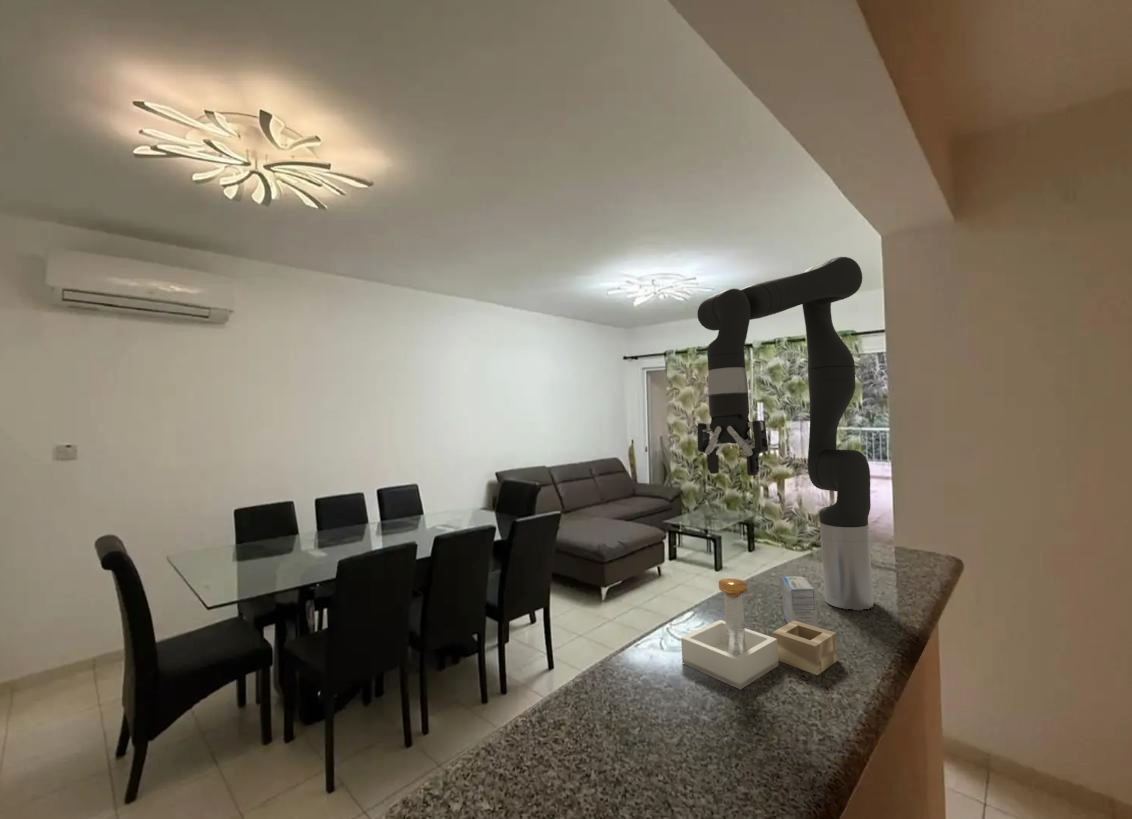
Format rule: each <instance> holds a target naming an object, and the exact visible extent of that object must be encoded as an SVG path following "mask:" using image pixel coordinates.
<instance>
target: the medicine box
mask: <svg viewBox="0 0 1132 819" xmlns="http://www.w3.org/2000/svg"><path fill="white" fill-rule="evenodd" d="M781 595H782V608H783V609H782V610H783V611H782V612H783V618H784V620H785V621H786V624H788V623H790V622H792V621H798V622H801V623H804V624H808V625H811V626H815V627H818V628H819V624H818V612H817V600H816V599H817V598H816V590H815V588H814V587H813V586H812V584H810V583H809V581H807V578H805V577H804V576H793V575H792V576H791V575H790V576H781Z"/></svg>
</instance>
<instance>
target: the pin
mask: <svg viewBox="0 0 1132 819" xmlns="http://www.w3.org/2000/svg"><path fill="white" fill-rule="evenodd" d="M747 586H748V584H747V582H746V581H745V580H742V579H740V578H739V579H738V578H722V579H720V580H718V589H719V591H722V592H723V603H724V604H723V605H724V621H725V625H726V643H727V653H730V654H732V655H735V656H738V655H740V654H742V653H744V652H745V651H746V642H745V627H746V626H745V612H744V611H745V609H744V595H743V594H744V593H745V592H747V591H748V587H747Z"/></svg>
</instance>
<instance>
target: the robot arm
mask: <svg viewBox="0 0 1132 819" xmlns="http://www.w3.org/2000/svg"><path fill="white" fill-rule="evenodd" d="M862 283H863V273H862V269H861V267H860V265H859V264H858V262H857V261H856V260H854V259H852V258H851V257H847V256H838V257H833V258H831V259H829V260H826V261H823V262H821V263H817V264H816V265H813V266H811V267H809V268H807V269H806V270H805V271H804V272H802V273H797V274H793V275H788V276H785V277H779V278H774V279H770V280H765V281H762V282H757V283H754V284H751V285H748V286H746V287H743V288H741V289H739V288H735V287H734V288H728V289H726V290H723V291H720V292H717V293H716V294H713V295H711V296H708V297H707V298H706V299H703V301H702V302H701V303H700V305H699V306H698V309H697V313H696V314H697V320H698V321H699V323H700V325H701V326H702V327H704V328H705V329H706V330H709V331H718V333H717V336H716V338H715V339H714V340H712V341H711V342H710V343H709V344H708V345H707V350H706V351H707V353H706V355H707V369H708V375H707V393H708V394H707V395H708V409H709V410H708V412H709V417H710V418H711V420H710V423H709V422H699V423H697V451H698V452H700V453H703V454H705V455H706V458H707V460H706V462H707V470H708V471H709V474H710V475H711V474H712V475H713V474H714V475H715V474H719V472H720V467H719V466H720V464H719V454H717V453H718V452H719V451H720V448H721V447H722V446H723V445H725V444H734V445H735V444H738V447H740V448H742V449H743V450H744V452H745V453H746V471H747V472H746V473H747V475H748V476H757V475H758V473H759V472H760V461H759V456H760V454H762V453H765V452H766V453H767V452H768V451H769V445H768V443H769V442H768V436H767V427H766V426H767V425H766V421H765V420H763V419H761V420H759V419H758V420H757V419H756V420H753V421H750V418H749V414H750V401H749V400H750V399H749V384H748V382H749V381H748V376H747V371H746V359H745V358H746V356H745V345H746V340H747V337H748V335H747V334H748V331H749V325H750V321H751V320H756V319H757V320H758V319H761V318H765V317H768V316H772V315H776V314H778V313H781V312H783V311H786V310H789V309H792V308H795V307H797V306H801V305H802V312H803V319H804V323H805V324H804V325H805V332H806V333H805V335H806V348H807V349H806V350H807V382H808V383H807V384H808V396H809V436H808V447H807V448H808V450H807V472H808V473H807V474H808V478H809V480H810V482H811V483H812V485H813V486H814V487H816V489H819V490H823V491H830V492H836V501H835V503H834V504H832V505H829V506H828V505H827V506H825V507H822V508H820V510H819V511H818V512H819V513H818V514H819V531H820V532H819V533H820V544H821V562H822V575H823V576H822V578H823V591H824V592H823V593H824V594H823V595H824V596H823V597H824V601H825V603H827V604H828V605H831V607H832V606H833V607H834V608H839V609H842V608H843V610H848V609H853V610H852V611H864V610H863V609H868V610H870V609H869V608H871V607H873V608H874V606H873V605H875V604H874V602H875V601H874V590H873V588H874V586H873V575H872V574H873V573H872V560H871V559H872V558H871V544H870V531H869V515H870V513H871V512H870V511H871V502H872V501H871V469H870V464H869V461H868V459H867V458H866V456H865V455H864V453H862V452H861V451H859V450H856V449H855V450H853V449H837V447H838V446H837V436H838V427H839V424H840V421H841V419H842V417H843V415H844V414H845V413H846V410H847V409H848V407H849V405H850V402H851V401H852V399H853V396H854V394H855V391H856V367H855V360H854V356H853V354H852V352H851V350H850V349H849V347H848V346H847V345H846V343H845V341H844V340H842V338H841V337H840V335H839V334H838V333H837V330H836V329H835V326H834V323H833V317H832V308H831V307H832V303H835V302H839V301H842V300H846V299H848V298H850V297H852V296H853V295H854V294H856V293H857V292H858V291H859V290H860V288H861V286H862ZM750 430H751V432H752V433H753V438H752V436H751V435H750V434H749V432H750ZM711 432H712V436H711V437H710V435H711V434H710V433H711ZM871 609H872V608H871Z"/></svg>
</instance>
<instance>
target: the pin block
mask: <svg viewBox="0 0 1132 819" xmlns="http://www.w3.org/2000/svg"><path fill="white" fill-rule="evenodd" d="M772 637H773V638H776V639H777V645H778V661H779V662H781V663H784V664H786V665H788V666H791V667H794V668H796V669H799V670H802V671H805V672H808V673H810V674H813V675H816V676H818V675H820V674H822V673H823V672H824V671H826V670H827V669H828V668H830V667H831V666H832V665H834V664H836V663H837V662H838V661H839V656H838V655H839V654H838V653H839V652H838V639H837V638H838V637H837V632H835V631H830V630H827V629H824V628H821V627H819V626H818V627H815V626H811V625H808V624H804V623H801V622H798V621H792V622H790V623H786V624H785V625H783V626H782V627H779V628H778V629H776V630H774V631H772Z"/></svg>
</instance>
